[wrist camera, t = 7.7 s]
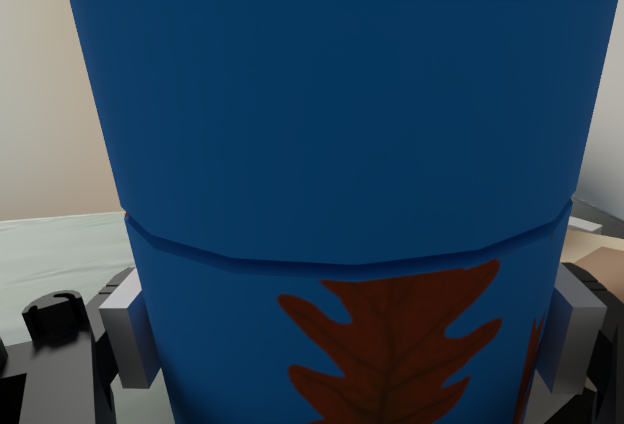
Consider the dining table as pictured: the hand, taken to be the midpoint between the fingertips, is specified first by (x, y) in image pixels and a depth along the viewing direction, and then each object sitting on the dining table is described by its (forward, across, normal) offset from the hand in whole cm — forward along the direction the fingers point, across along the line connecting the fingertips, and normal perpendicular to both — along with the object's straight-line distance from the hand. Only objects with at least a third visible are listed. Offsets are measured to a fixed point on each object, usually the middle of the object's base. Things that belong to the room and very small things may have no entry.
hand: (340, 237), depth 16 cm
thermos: (-4, 0, -13) cm, 14 cm away
